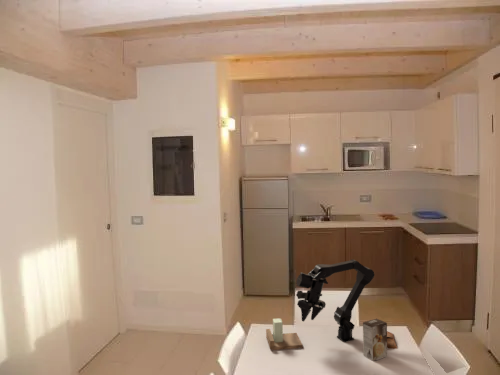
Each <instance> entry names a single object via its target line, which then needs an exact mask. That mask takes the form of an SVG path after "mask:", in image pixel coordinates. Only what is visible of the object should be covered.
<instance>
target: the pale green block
mask: <svg viewBox="0 0 500 375" xmlns="http://www.w3.org/2000/svg"><path fill="white" fill-rule="evenodd" d="M272 334H273V339H274V342H275V343H276V342H283V334H284V333H283V320H282V318H272Z"/></svg>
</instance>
